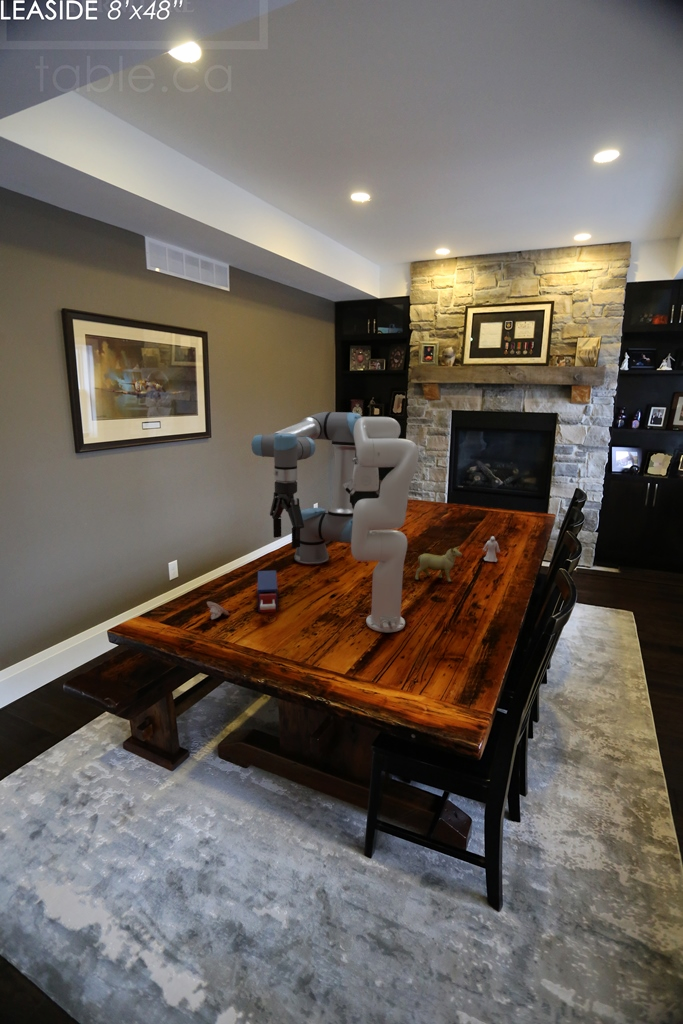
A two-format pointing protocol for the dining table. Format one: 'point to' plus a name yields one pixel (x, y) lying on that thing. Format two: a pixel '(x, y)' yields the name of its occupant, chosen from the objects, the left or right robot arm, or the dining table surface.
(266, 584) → the cabinet
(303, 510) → the left robot arm
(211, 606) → the seashell
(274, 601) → the drawer
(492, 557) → the figurine
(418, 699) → the dining table surface
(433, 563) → the toy
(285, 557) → the dining table surface
